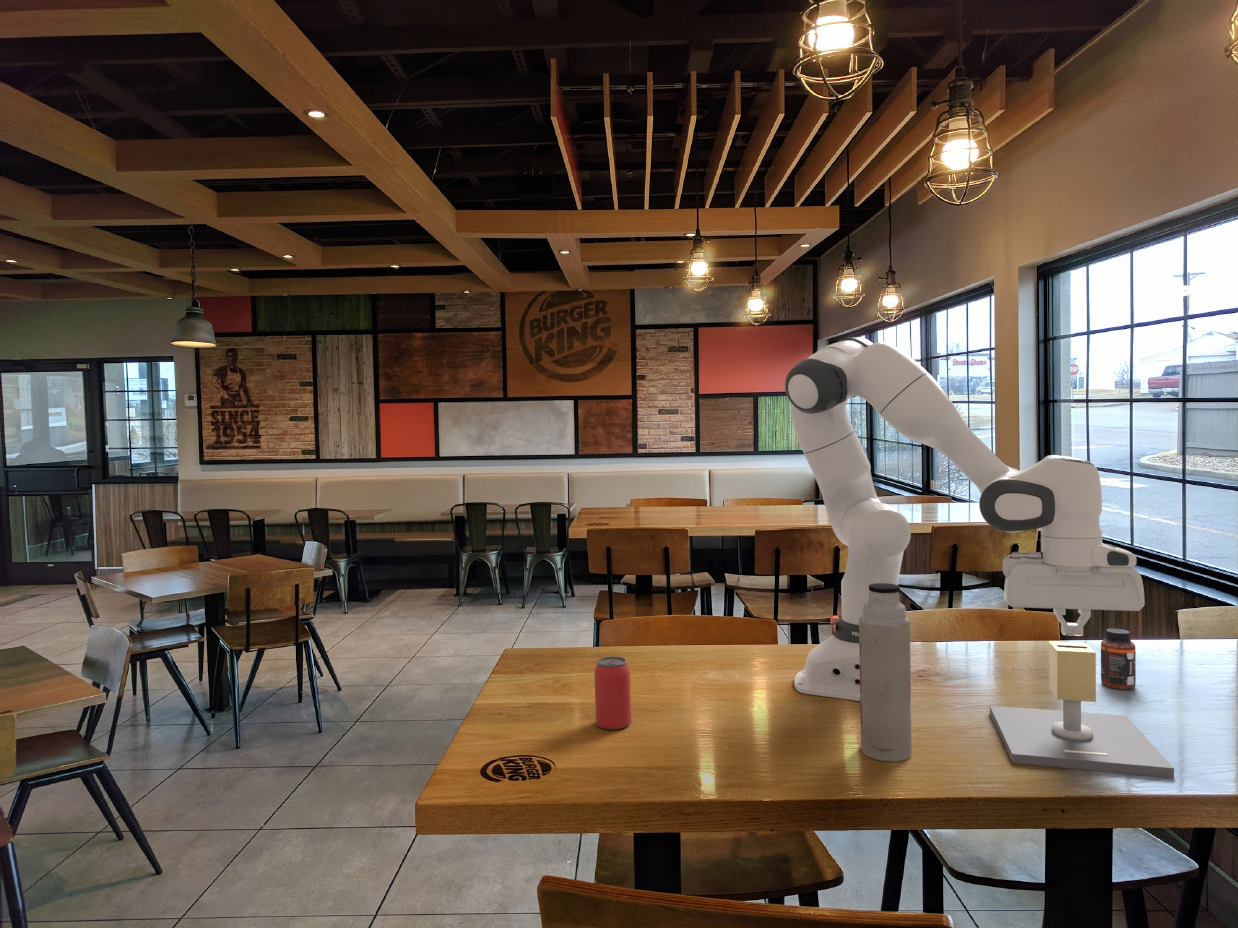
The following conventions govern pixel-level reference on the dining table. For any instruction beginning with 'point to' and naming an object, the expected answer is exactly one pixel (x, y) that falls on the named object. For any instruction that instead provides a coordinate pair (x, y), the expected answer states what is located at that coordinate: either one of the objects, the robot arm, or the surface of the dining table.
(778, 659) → the dining table surface
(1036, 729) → the stud plate
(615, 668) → the beer can
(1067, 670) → the brushed gold block
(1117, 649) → the supplement bottle
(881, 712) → the thermos bottle
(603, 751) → the dining table surface
